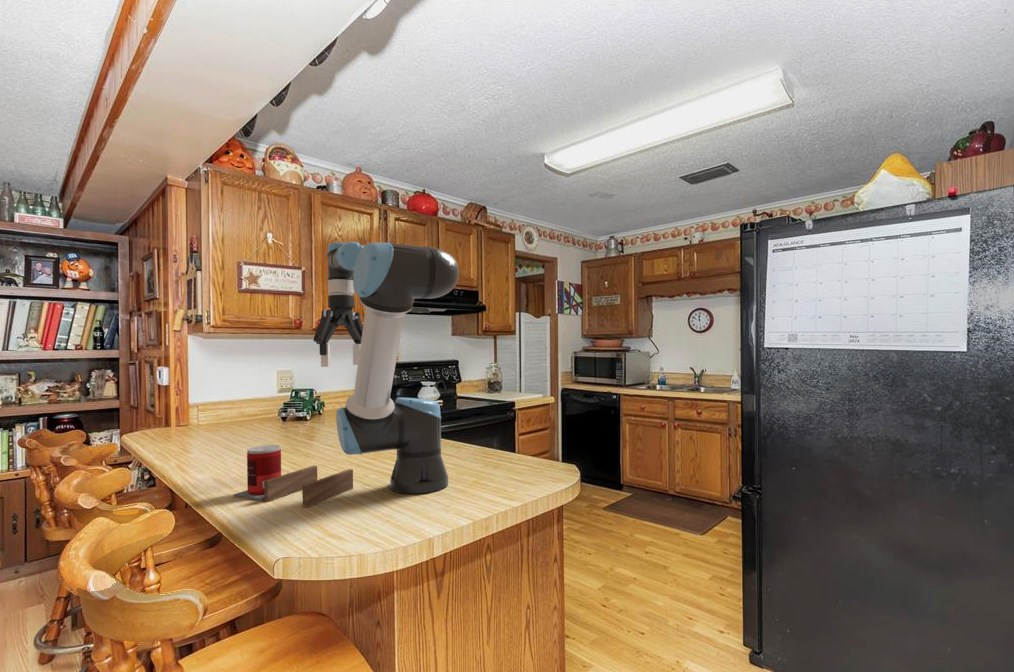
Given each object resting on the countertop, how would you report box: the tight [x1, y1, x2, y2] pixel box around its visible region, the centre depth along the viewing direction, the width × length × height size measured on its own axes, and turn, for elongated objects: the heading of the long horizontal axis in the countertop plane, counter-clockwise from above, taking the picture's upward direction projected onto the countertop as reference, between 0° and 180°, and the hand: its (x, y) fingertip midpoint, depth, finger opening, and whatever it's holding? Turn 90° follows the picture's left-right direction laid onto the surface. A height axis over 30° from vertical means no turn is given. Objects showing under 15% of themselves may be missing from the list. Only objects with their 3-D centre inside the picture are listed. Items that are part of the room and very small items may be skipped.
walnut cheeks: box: [264, 465, 354, 508], centre depth 124 cm, size 13×16×5 cm
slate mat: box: [232, 489, 265, 502], centre depth 126 cm, size 10×10×1 cm
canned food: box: [246, 444, 282, 495], centre depth 126 cm, size 8×8×11 cm
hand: (342, 365), depth 147 cm, fingers open, 13 cm apart
